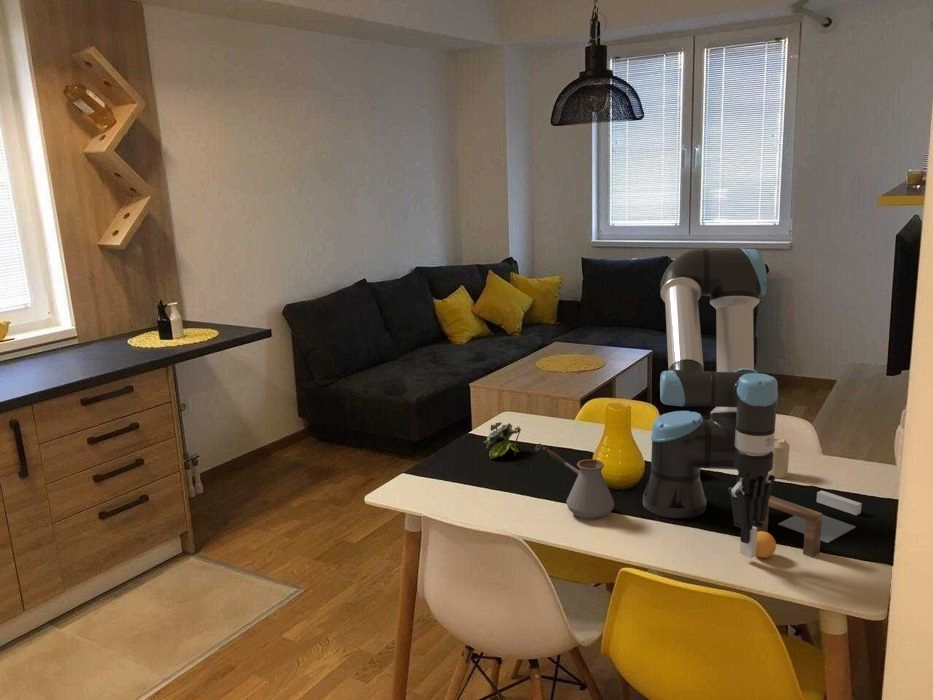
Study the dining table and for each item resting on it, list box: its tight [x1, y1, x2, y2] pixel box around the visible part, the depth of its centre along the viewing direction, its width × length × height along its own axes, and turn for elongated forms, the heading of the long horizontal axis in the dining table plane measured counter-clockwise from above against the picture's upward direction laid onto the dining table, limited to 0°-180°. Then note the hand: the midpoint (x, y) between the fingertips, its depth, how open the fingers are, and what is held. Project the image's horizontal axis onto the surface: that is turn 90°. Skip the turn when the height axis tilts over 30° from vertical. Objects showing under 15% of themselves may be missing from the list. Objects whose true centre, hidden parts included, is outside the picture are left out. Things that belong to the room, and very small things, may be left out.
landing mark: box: [777, 514, 856, 544], centre depth 182 cm, size 12×12×1 cm
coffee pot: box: [534, 443, 615, 521], centre depth 193 cm, size 21×12×15 cm, turn 51°
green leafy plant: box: [483, 421, 522, 460], centre depth 232 cm, size 11×11×12 cm
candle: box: [768, 438, 790, 479], centre depth 210 cm, size 6×6×10 cm
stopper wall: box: [816, 490, 862, 516], centre depth 191 cm, size 10×2×2 cm, turn 37°
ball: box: [755, 531, 777, 559], centre depth 168 cm, size 6×6×6 cm
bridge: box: [757, 494, 824, 558], centre depth 173 cm, size 3×14×9 cm, turn 36°
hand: (747, 554), depth 166 cm, fingers closed
